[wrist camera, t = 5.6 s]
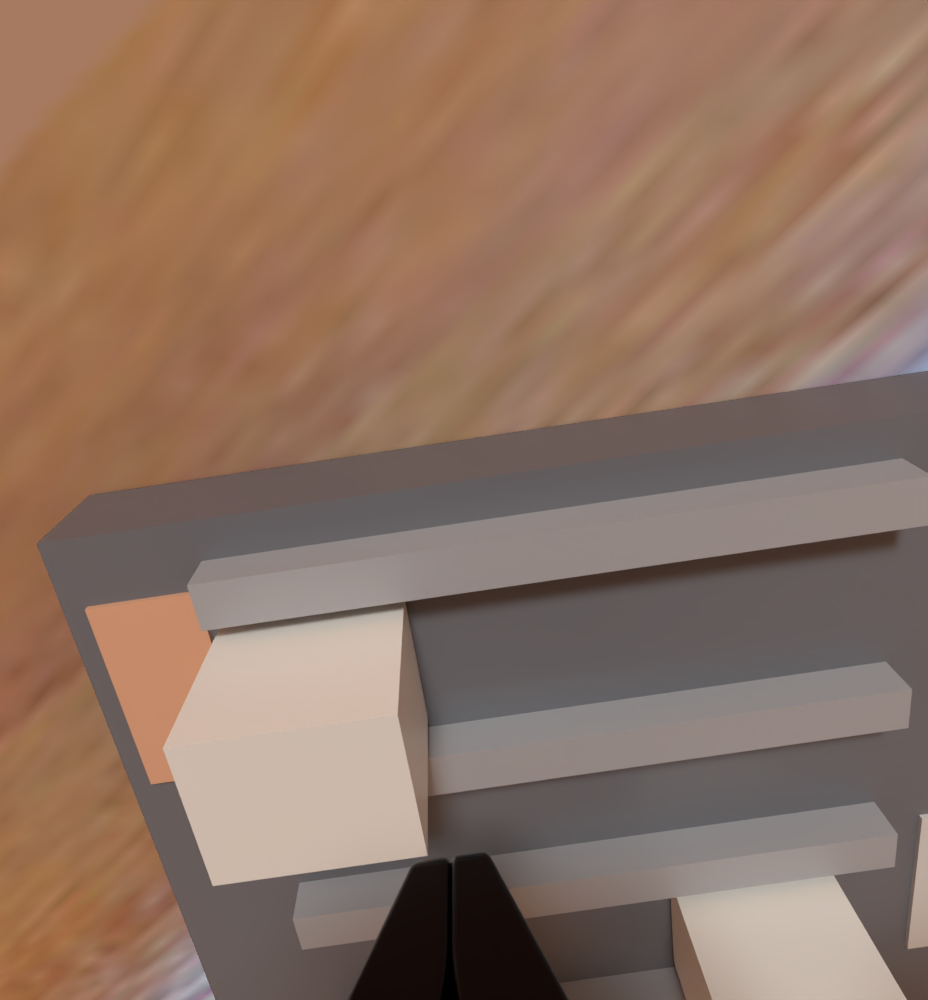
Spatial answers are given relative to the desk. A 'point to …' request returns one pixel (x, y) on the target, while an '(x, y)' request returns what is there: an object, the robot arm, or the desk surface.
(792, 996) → the tab middle
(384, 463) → the switch panel
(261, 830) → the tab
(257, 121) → the desk surface
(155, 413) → the desk surface
